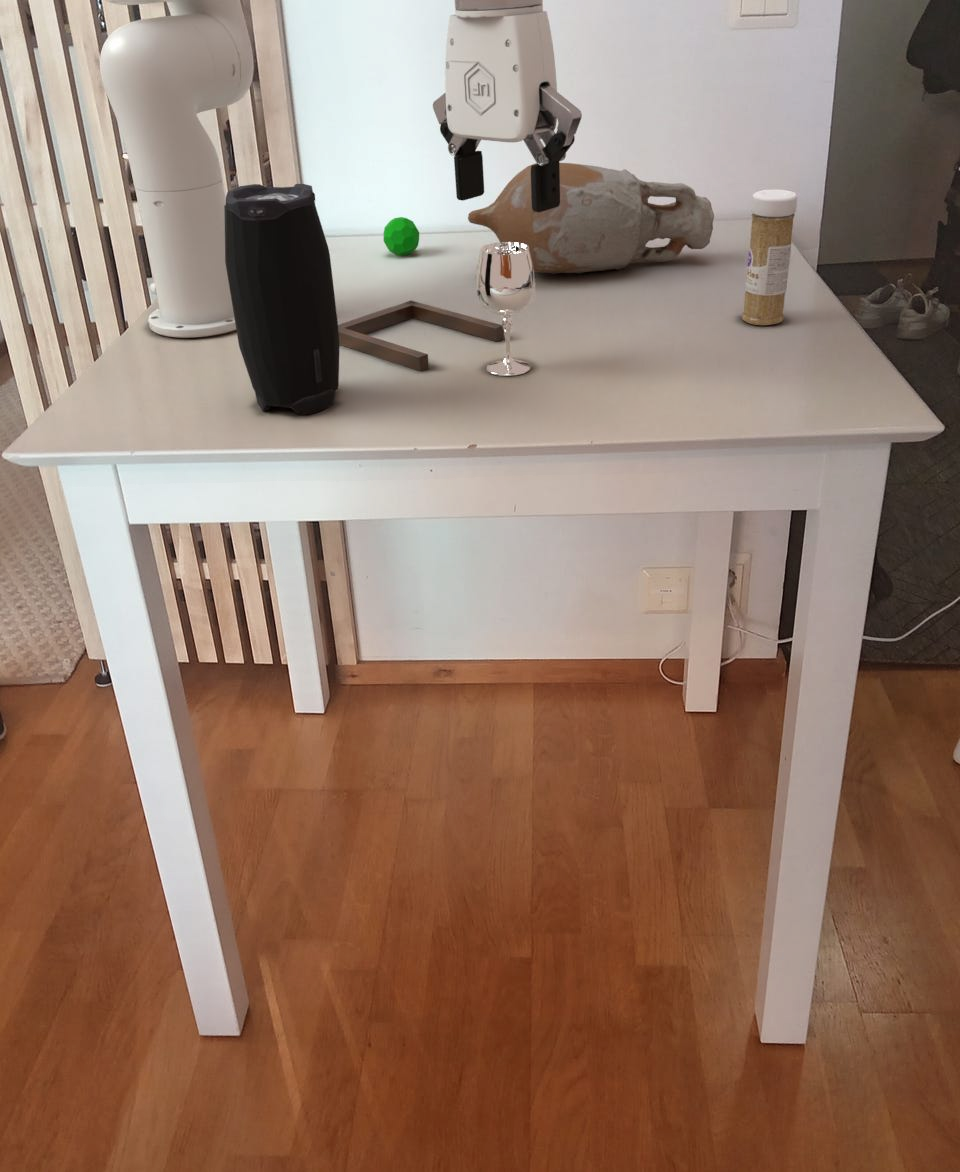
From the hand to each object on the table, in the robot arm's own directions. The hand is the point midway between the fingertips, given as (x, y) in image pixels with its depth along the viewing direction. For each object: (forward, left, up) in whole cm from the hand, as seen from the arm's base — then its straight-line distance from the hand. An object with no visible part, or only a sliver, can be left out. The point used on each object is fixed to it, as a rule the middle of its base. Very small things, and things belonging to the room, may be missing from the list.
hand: (507, 203), depth 100 cm
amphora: (-16, +32, -16) cm, 39 cm away
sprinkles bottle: (+12, +28, -16) cm, 34 cm away
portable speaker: (-10, -19, -16) cm, 27 cm away
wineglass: (0, 0, -16) cm, 16 cm away
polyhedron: (-42, +23, -16) cm, 51 cm away
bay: (-14, 0, -16) cm, 22 cm away
